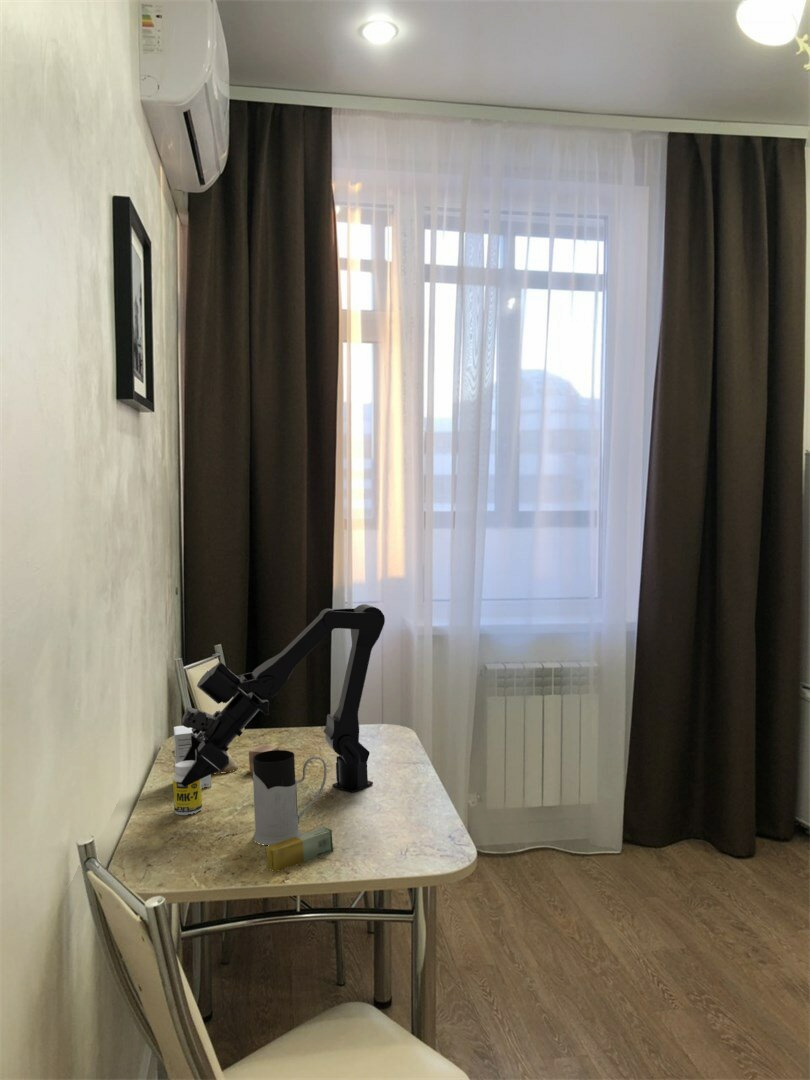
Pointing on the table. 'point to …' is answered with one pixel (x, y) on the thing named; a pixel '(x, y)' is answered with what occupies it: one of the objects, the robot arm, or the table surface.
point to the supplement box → (185, 748)
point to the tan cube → (259, 750)
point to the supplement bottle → (186, 791)
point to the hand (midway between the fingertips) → (181, 778)
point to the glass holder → (277, 796)
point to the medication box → (299, 849)
